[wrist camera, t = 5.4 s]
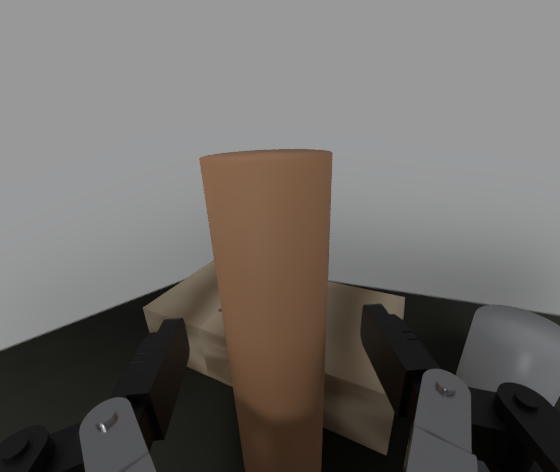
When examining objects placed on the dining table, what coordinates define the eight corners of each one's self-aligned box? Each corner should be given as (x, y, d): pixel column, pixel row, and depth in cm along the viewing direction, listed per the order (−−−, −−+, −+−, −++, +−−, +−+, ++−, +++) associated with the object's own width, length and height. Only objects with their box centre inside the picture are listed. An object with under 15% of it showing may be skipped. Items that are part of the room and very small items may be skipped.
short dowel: (442, 462, 16) (483, 345, 12) (437, 403, 19) (468, 298, 16) (529, 498, 14) (603, 375, 11) (507, 427, 17) (558, 315, 14)
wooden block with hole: (155, 352, 24) (142, 307, 23) (221, 294, 33) (216, 258, 31) (386, 455, 16) (397, 398, 14) (397, 342, 24) (405, 297, 23)
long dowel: (234, 510, 14) (168, 161, 7) (269, 436, 17) (246, 149, 11) (305, 558, 12) (304, 163, 6) (329, 466, 16) (346, 148, 9)
